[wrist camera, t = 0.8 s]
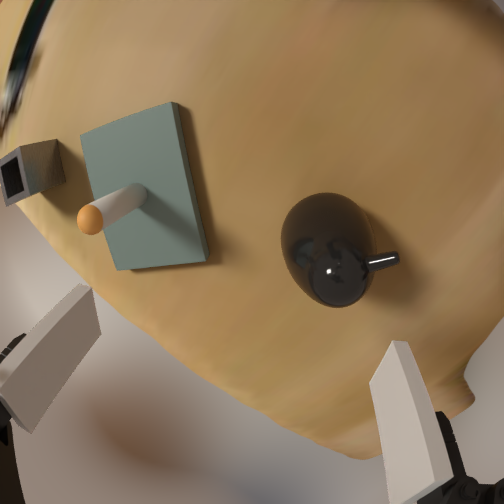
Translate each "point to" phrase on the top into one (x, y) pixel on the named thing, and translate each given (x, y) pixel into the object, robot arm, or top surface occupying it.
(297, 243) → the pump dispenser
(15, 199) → the grey square sleeve
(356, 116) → the top surface
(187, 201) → the keeper
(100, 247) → the top surface
